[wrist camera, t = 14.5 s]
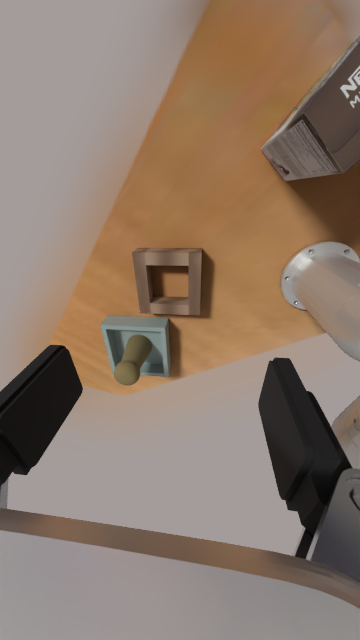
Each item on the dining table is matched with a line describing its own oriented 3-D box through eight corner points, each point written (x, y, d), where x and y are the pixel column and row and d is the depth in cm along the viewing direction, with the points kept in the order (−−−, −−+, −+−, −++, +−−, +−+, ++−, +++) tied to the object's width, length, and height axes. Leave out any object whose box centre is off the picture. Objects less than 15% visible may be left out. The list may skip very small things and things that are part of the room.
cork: (147, 358, 52) (133, 394, 42) (124, 348, 51) (105, 382, 41) (156, 341, 49) (143, 375, 39) (132, 330, 48) (113, 363, 38)
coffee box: (318, 77, 26) (444, -58, 12) (346, 121, 28) (485, 47, 14) (258, 149, 30) (300, 110, 16) (285, 184, 32) (345, 175, 18)
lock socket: (202, 248, 38) (201, 252, 35) (200, 307, 44) (199, 315, 41) (137, 248, 39) (132, 252, 36) (144, 305, 45) (140, 313, 42)
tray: (168, 318, 46) (165, 327, 43) (170, 365, 53) (168, 376, 50) (107, 315, 48) (100, 324, 44) (118, 361, 55) (112, 372, 51)
